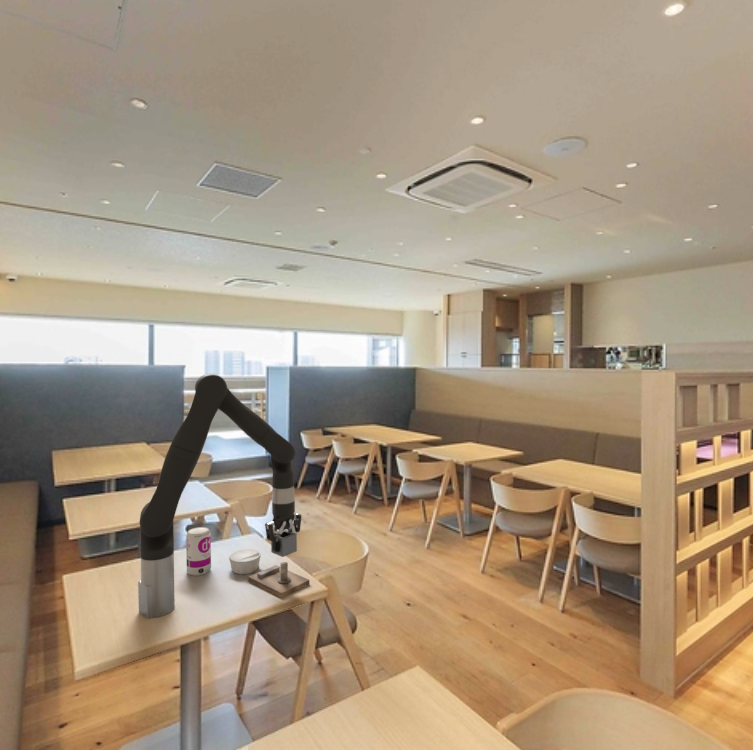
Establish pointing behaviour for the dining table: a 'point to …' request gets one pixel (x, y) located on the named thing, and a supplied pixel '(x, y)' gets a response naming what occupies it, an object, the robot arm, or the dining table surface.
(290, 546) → the grey hollow cube
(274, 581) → the board
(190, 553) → the supplement can
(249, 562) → the ramekin
